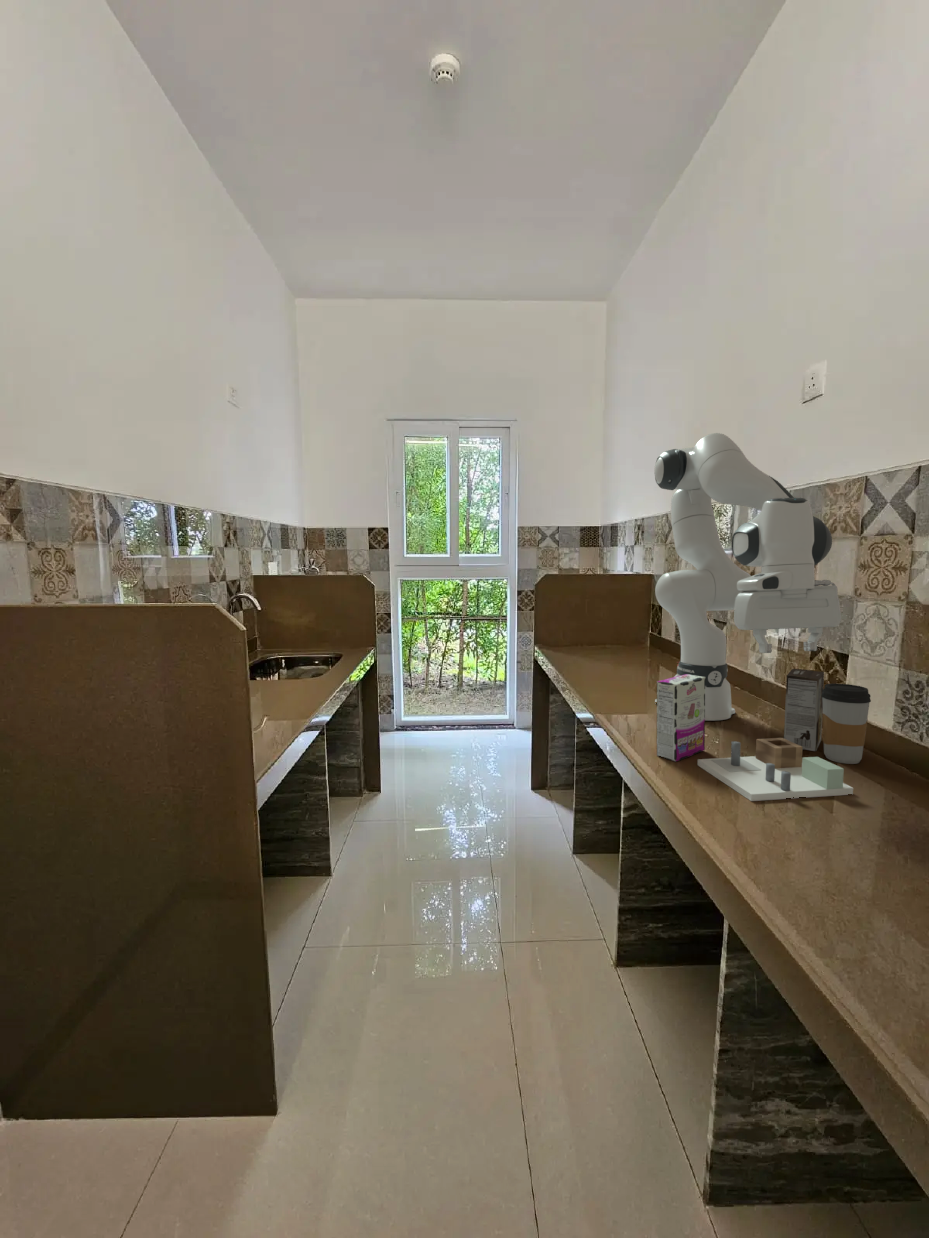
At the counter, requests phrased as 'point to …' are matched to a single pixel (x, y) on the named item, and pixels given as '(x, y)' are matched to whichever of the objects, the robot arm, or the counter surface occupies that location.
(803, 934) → the counter surface
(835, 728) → the coffee cup
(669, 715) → the candy bar box
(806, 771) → the block
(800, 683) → the coffee box
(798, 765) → the wooden square block
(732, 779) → the base plate
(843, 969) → the counter surface
